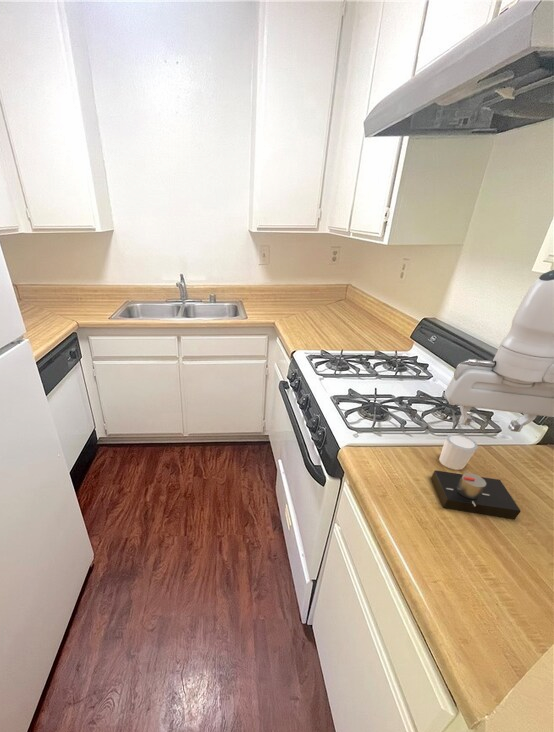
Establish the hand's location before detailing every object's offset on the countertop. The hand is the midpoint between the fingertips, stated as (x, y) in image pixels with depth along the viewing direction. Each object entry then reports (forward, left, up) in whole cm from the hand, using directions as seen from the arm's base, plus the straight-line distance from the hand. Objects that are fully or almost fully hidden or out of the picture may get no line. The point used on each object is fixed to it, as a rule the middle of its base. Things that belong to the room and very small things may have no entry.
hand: (488, 426), depth 72 cm
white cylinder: (-1, -9, -17) cm, 19 cm away
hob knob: (+1, +5, -14) cm, 15 cm away
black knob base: (-1, +4, -17) cm, 17 cm away
